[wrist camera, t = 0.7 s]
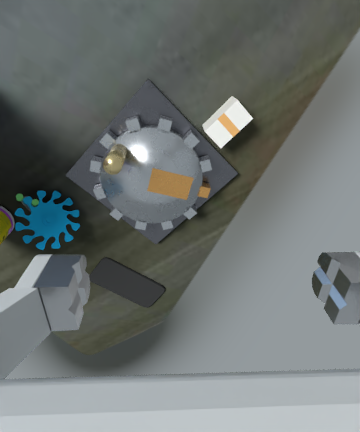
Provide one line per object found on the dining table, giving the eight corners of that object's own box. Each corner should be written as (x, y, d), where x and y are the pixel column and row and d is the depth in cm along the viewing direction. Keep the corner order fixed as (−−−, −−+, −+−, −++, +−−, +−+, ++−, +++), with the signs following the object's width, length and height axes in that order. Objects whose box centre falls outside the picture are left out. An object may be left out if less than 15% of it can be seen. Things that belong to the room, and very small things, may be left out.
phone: (104, 256, 56) (167, 289, 61) (105, 253, 57) (167, 286, 61) (86, 279, 59) (147, 309, 64) (87, 277, 60) (148, 306, 64)
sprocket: (147, 85, 40) (143, 92, 33) (234, 174, 47) (245, 196, 40) (69, 176, 46) (51, 198, 39) (155, 242, 53) (153, 271, 46)
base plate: (148, 78, 41) (147, 79, 40) (236, 171, 48) (238, 173, 47) (67, 173, 47) (65, 175, 46) (156, 241, 55) (155, 244, 54)
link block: (231, 95, 42) (237, 99, 39) (246, 113, 44) (253, 118, 40) (202, 125, 44) (204, 131, 41) (216, 141, 46) (220, 148, 42)
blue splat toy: (93, 220, 50) (48, 263, 46) (85, 222, 55) (44, 261, 51) (45, 171, 47) (-8, 213, 43) (41, 179, 52) (-6, 217, 48)
